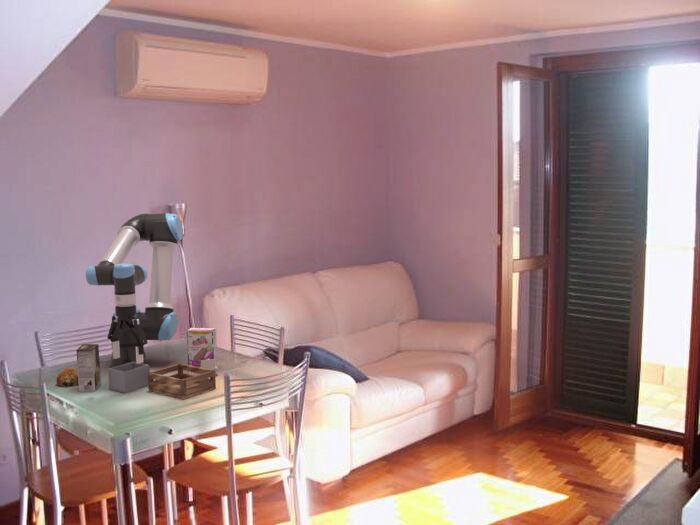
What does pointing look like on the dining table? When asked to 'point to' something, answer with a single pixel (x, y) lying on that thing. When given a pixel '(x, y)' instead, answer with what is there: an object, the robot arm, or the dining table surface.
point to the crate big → (181, 381)
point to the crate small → (128, 377)
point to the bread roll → (68, 377)
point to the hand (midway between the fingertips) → (128, 360)
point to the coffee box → (88, 367)
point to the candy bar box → (201, 345)
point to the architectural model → (208, 364)
